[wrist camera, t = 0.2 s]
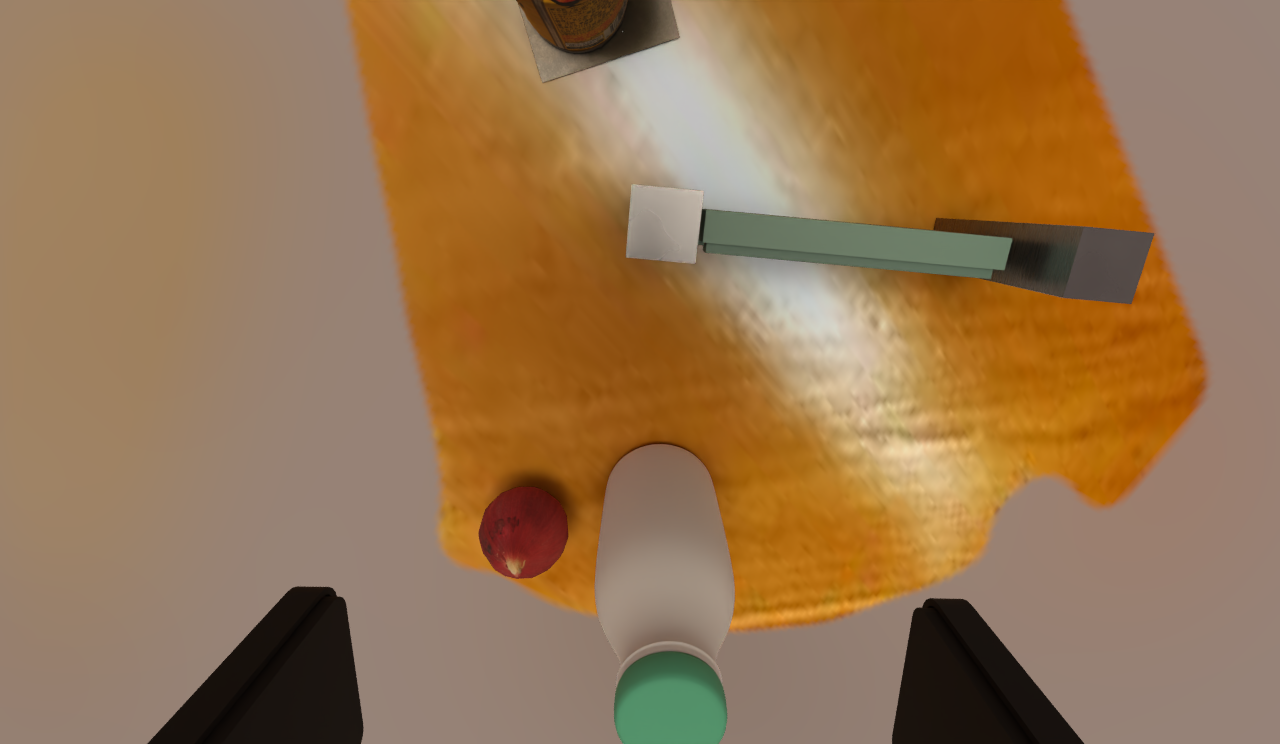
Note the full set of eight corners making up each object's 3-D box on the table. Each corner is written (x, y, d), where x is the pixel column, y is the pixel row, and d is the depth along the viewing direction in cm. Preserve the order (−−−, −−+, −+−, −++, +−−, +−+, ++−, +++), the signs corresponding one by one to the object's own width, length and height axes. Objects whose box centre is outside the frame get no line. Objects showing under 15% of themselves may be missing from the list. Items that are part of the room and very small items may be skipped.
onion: (486, 525, 44) (451, 595, 36) (505, 457, 42) (474, 515, 34) (561, 547, 44) (543, 620, 36) (583, 481, 42) (570, 543, 35)
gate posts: (636, 190, 37) (631, 184, 24) (983, 222, 37) (1154, 233, 25) (632, 238, 38) (625, 257, 25) (971, 270, 38) (1131, 303, 26)
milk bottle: (589, 461, 42) (542, 680, 23) (691, 425, 41) (731, 620, 22) (629, 550, 44) (617, 820, 25) (727, 516, 43) (793, 770, 24)
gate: (932, 230, 35) (1012, 238, 28) (925, 263, 36) (1001, 280, 28) (693, 207, 35) (706, 209, 27) (689, 241, 36) (701, 253, 28)
